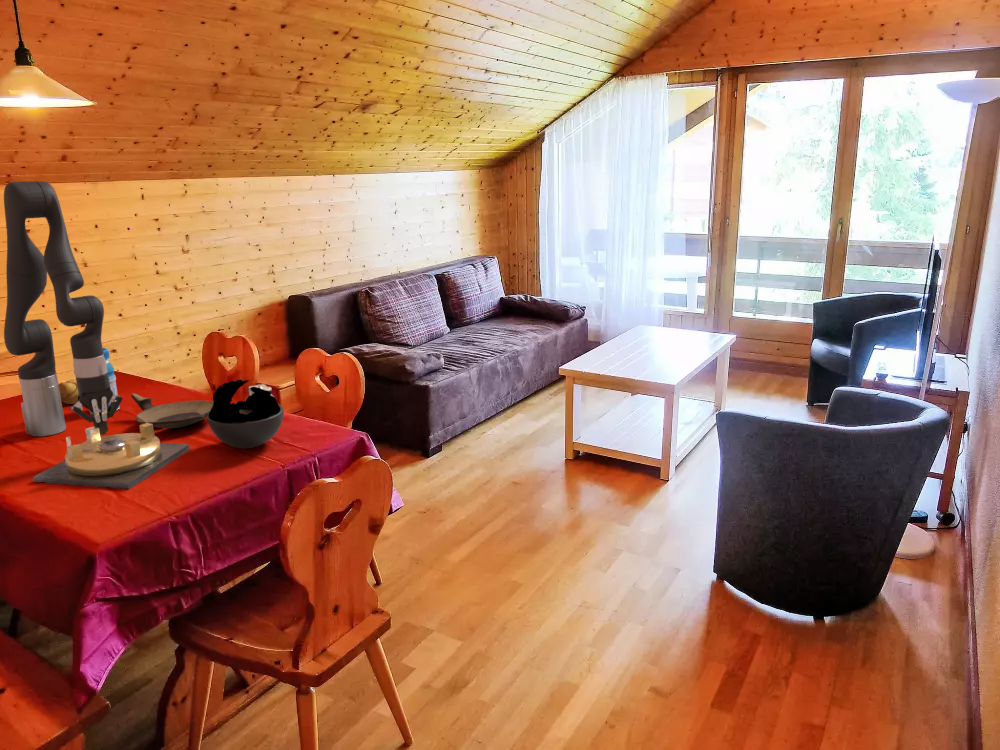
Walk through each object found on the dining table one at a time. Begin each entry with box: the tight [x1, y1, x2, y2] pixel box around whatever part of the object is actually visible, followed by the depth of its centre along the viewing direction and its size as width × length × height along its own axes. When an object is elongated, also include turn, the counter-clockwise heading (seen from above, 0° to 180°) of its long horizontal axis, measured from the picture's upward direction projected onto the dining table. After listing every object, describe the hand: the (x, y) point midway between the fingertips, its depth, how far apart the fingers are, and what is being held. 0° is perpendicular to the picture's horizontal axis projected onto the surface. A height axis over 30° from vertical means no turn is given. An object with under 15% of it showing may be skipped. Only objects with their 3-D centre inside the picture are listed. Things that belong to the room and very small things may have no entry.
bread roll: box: [58, 378, 79, 405], centre depth 244 cm, size 13×10×8 cm
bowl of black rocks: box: [206, 379, 285, 449], centre depth 202 cm, size 20×20×19 cm
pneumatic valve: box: [247, 383, 276, 399], centre depth 221 cm, size 6×12×12 cm, turn 32°
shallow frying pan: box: [130, 392, 214, 429], centre depth 223 cm, size 22×30×8 cm
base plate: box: [32, 436, 191, 490], centre depth 191 cm, size 26×26×8 cm
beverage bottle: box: [102, 347, 121, 412], centre depth 232 cm, size 8×8×20 cm
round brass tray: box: [64, 423, 161, 476], centre depth 190 cm, size 22×22×6 cm
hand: (102, 434), depth 197 cm, fingers closed
